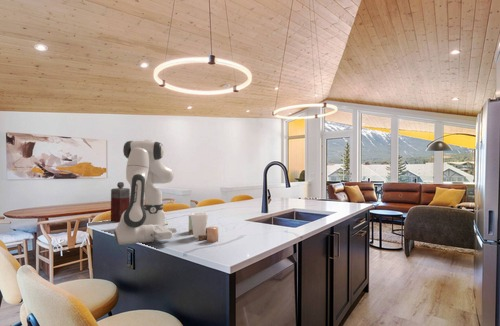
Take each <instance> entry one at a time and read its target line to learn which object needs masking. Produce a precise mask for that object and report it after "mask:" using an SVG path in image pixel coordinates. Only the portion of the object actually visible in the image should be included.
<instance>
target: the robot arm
mask: <svg viewBox="0 0 500 326" xmlns="http://www.w3.org/2000/svg"><path fill="white" fill-rule="evenodd" d="M122 152H123V156H124V157H125V158H126V159H127V162H126V168H125V175H126V177H125V178H126V181H127V183H128V184H129V186H130V203H129V206H128V208H127V210H125V211H124V212H123V214H122V216H121V219H120V222H118V224H117V226H116V228H115V229H114V231H113V236H114V241H115V242H116V243H117V244H118V245H120V246H124V245H125V246H127V245H130V246H131V245H135V244H139V243H141V244H145V243H151V242H154V241H155V240H170V239H172V238H173V234H174V233H177V229H176V228H174V227H171V228H170V227H166V225H169V223H168V221H166V212H165V211H164V203H163V192H162V190H160V189H159V188H156V187H155V186H154V184H162V185H163V184H168V183H171V182H172V181H173V180H174V176H175V174H174V171H173V170H172V168H170V167H168V166H166V165H164V163H162V160H161V159H162V158H163V156H164V154H165V149H164V145H163V144H162V143H161V142H158V141H153V140H152V139H145V140H128V141H126V142H125V143H124V145H123V148H122Z"/></svg>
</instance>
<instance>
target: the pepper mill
mask: <svg viewBox="0 0 500 326" xmlns="http://www.w3.org/2000/svg"><path fill="white" fill-rule="evenodd" d="M116 186H117V187H116V188H112V189H111V190H110V222H116V223H119V222H120V219H121V216H122V214H123V212H124V211H125V210H127V208H128V206H129V203H130V192H131V188H129V187H127V188H126V187H125V183H124V182H123V181H122V182H121V181H118V182H117V184H116Z"/></svg>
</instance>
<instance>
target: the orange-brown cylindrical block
mask: <svg viewBox="0 0 500 326" xmlns="http://www.w3.org/2000/svg"><path fill="white" fill-rule="evenodd" d="M206 228H207V233H206V234H207V240H206V242H207V243H217V242H219V227H218V226H208V227H207V226H206Z"/></svg>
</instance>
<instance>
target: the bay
mask: <svg viewBox="0 0 500 326" xmlns="http://www.w3.org/2000/svg"><path fill="white" fill-rule="evenodd" d="M188 235H193V229H192V230H189V229H188ZM197 239H198V241H204V240H206V241H207V227H206V233H205V235H198V238H197Z"/></svg>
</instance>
